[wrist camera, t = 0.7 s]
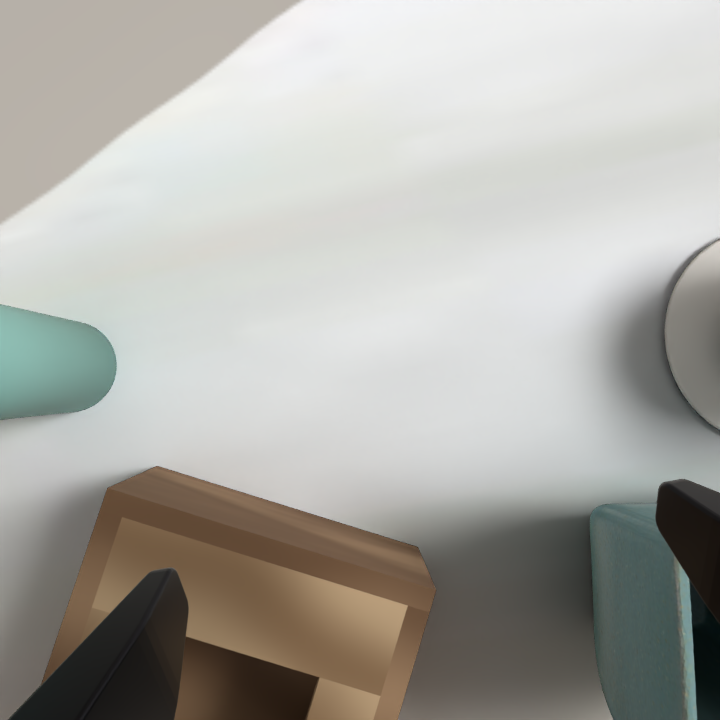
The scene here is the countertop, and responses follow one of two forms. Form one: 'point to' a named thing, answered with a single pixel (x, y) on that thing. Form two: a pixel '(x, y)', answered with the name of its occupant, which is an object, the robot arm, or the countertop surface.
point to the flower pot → (649, 622)
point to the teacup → (697, 333)
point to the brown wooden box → (260, 600)
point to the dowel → (51, 364)
